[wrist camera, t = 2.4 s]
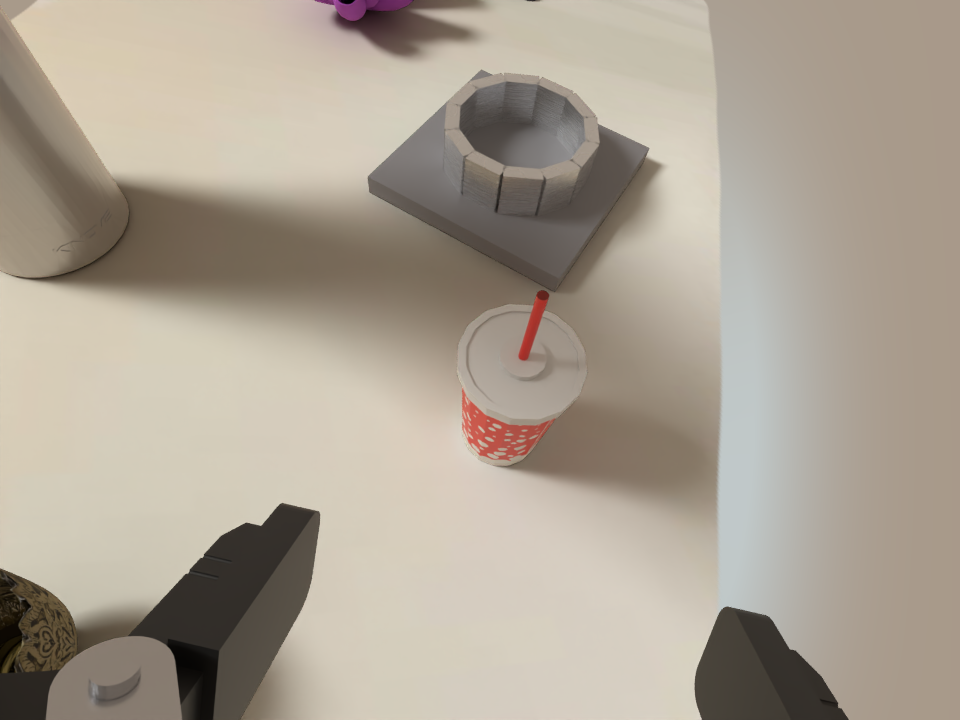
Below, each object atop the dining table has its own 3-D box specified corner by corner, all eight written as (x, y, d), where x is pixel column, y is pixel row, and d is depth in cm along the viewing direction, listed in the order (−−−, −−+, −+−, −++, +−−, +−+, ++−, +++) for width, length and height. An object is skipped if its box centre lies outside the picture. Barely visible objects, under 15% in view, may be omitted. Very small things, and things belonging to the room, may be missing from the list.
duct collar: (415, 171, 41) (414, 132, 38) (491, 96, 46) (495, 55, 43) (544, 238, 39) (554, 202, 36) (609, 152, 44) (622, 114, 41)
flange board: (369, 191, 41) (367, 176, 40) (479, 85, 49) (481, 69, 47) (554, 291, 38) (559, 278, 37) (643, 162, 46) (649, 148, 44)
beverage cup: (511, 367, 35) (557, 213, 23) (569, 444, 33) (654, 319, 21) (429, 414, 33) (432, 271, 21) (486, 499, 31) (525, 395, 19)
